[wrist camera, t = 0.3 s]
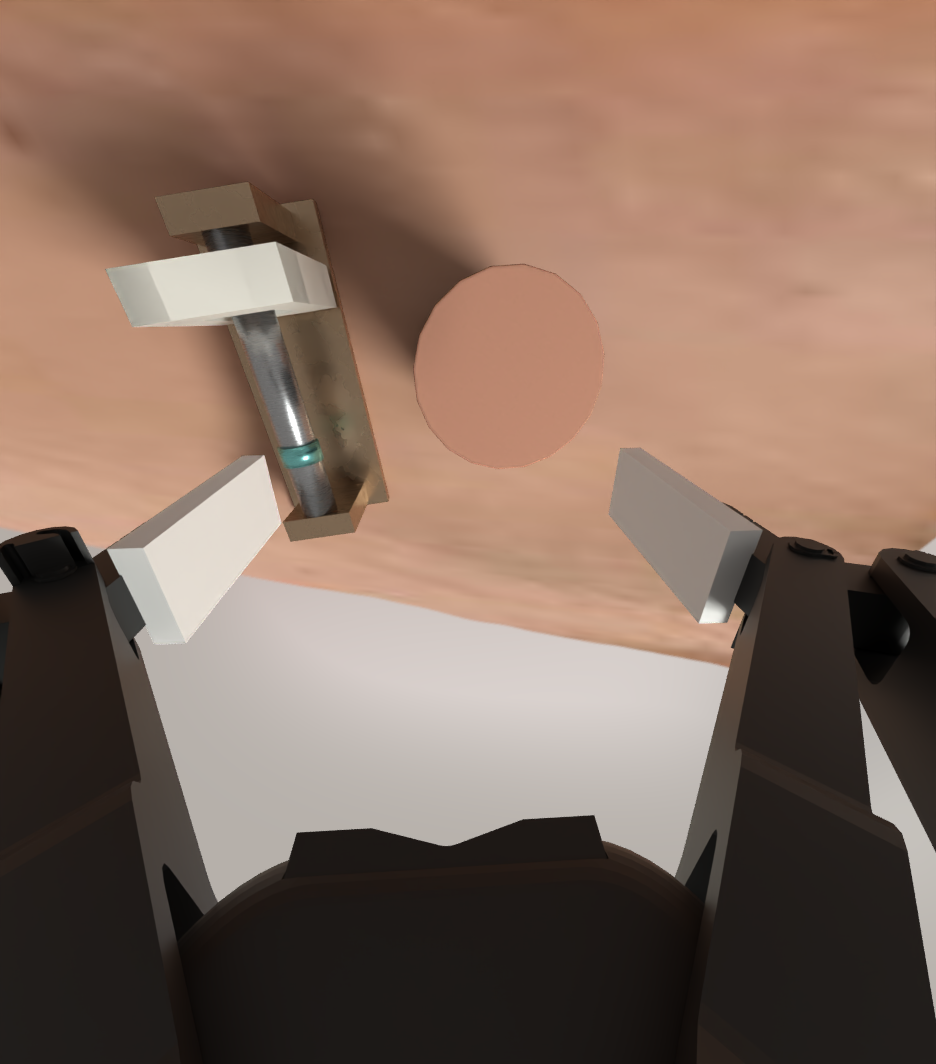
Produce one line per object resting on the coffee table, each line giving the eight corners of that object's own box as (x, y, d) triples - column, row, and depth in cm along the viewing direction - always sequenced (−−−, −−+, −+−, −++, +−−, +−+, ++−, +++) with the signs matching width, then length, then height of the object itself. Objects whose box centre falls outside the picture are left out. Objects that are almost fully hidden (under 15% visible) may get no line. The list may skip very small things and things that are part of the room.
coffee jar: (545, 397, 40) (611, 447, 24) (442, 422, 41) (440, 487, 25) (529, 275, 35) (598, 236, 19) (412, 305, 36) (386, 293, 20)
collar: (206, 284, 33) (105, 269, 23) (326, 265, 33) (275, 241, 23) (221, 325, 34) (132, 327, 25) (336, 307, 34) (293, 301, 24)
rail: (194, 222, 33) (116, 191, 25) (316, 202, 32) (275, 165, 25) (300, 511, 45) (270, 550, 37) (389, 497, 44) (377, 534, 37)
